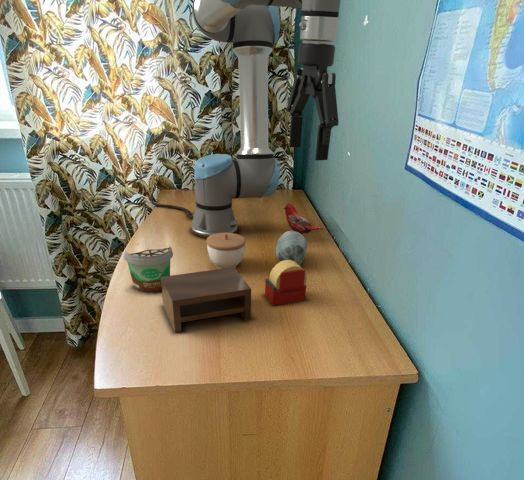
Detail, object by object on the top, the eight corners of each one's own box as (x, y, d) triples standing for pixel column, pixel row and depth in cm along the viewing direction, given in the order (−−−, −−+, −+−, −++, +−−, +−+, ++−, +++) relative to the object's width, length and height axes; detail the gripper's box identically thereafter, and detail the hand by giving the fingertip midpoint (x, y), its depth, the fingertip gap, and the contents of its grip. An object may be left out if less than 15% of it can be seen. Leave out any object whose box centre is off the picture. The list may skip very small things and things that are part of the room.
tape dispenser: (264, 295, 116) (266, 261, 111) (296, 290, 120) (300, 256, 114) (272, 305, 113) (274, 270, 107) (305, 299, 116) (309, 265, 110)
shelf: (163, 306, 110) (160, 276, 105) (233, 295, 116) (233, 266, 111) (175, 332, 101) (172, 300, 96) (250, 319, 107) (251, 288, 102)
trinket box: (251, 262, 133) (251, 231, 128) (233, 276, 125) (234, 244, 119) (218, 254, 136) (218, 224, 131) (200, 268, 128) (198, 236, 123)
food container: (134, 298, 113) (128, 260, 107) (128, 287, 117) (122, 251, 111) (181, 289, 118) (179, 253, 112) (174, 279, 122) (171, 243, 116)
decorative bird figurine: (285, 230, 156) (287, 200, 150) (324, 246, 145) (328, 215, 139) (279, 232, 154) (281, 202, 148) (318, 248, 144) (321, 217, 138)
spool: (311, 263, 126) (298, 228, 123) (279, 275, 129) (266, 241, 126) (314, 255, 139) (303, 224, 136) (285, 266, 141) (273, 236, 139)
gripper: (276, 40, 101) (271, 142, 114) (331, 44, 83) (318, 166, 95) (306, 41, 104) (298, 141, 116) (366, 46, 85) (349, 165, 97)
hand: (307, 153), depth 106 cm, fingers open, 13 cm apart
